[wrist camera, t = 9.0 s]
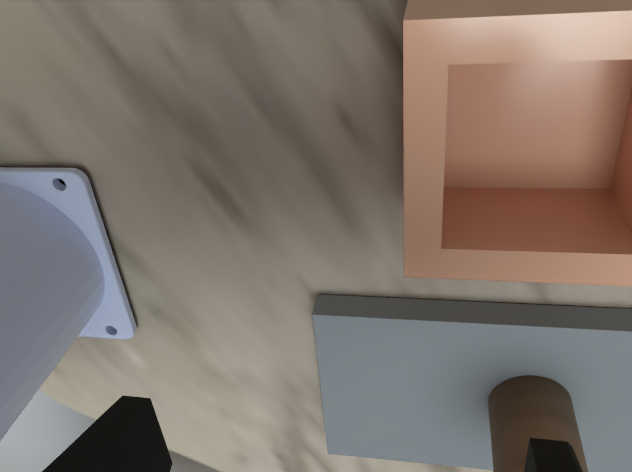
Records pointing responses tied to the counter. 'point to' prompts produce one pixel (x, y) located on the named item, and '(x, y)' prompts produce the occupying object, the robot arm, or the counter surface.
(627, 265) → the square hollow frame
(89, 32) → the counter surface
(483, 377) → the board
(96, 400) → the counter surface
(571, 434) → the peg
